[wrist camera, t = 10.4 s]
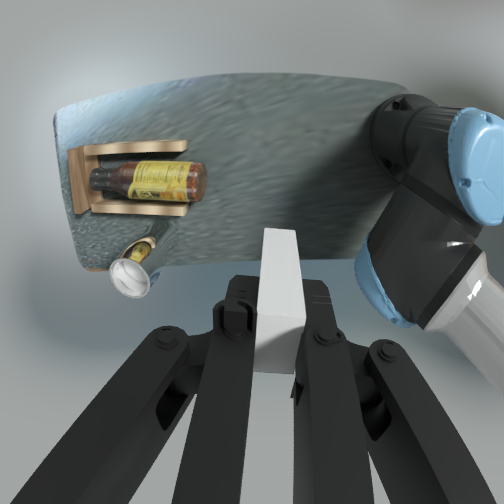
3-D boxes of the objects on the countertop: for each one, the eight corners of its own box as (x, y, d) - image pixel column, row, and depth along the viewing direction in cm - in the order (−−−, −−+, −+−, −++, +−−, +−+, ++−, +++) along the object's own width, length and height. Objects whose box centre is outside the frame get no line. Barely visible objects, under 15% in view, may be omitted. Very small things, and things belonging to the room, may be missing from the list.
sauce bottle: (206, 202, 47) (105, 196, 48) (209, 164, 45) (107, 163, 47) (194, 203, 40) (84, 198, 42) (198, 159, 39) (86, 160, 41)
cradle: (187, 139, 43) (180, 142, 40) (188, 209, 49) (181, 218, 45) (79, 145, 44) (67, 149, 41) (86, 206, 50) (74, 213, 46)
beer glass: (149, 251, 53) (113, 297, 40) (143, 216, 50) (102, 256, 37) (183, 252, 53) (155, 301, 39) (179, 216, 49) (146, 258, 36)
